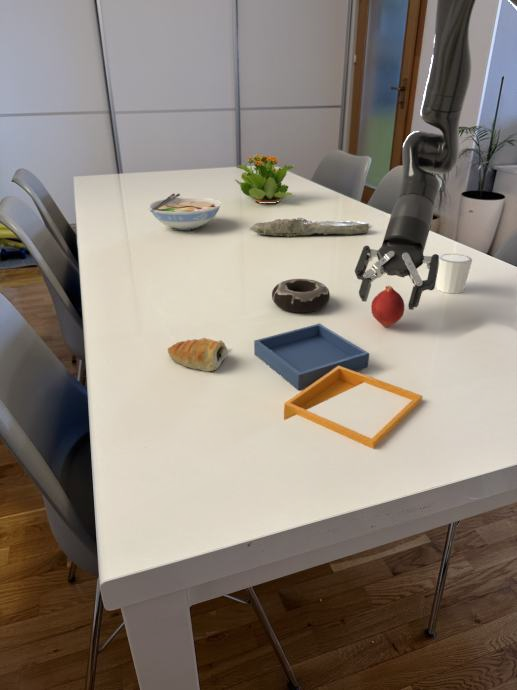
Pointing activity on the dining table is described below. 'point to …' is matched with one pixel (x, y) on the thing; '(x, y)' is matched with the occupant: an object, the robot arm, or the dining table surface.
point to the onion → (387, 307)
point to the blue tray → (309, 354)
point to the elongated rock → (309, 227)
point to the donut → (300, 295)
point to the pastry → (199, 353)
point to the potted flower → (264, 180)
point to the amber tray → (335, 385)
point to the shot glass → (453, 272)
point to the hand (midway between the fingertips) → (386, 303)
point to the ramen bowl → (185, 211)
